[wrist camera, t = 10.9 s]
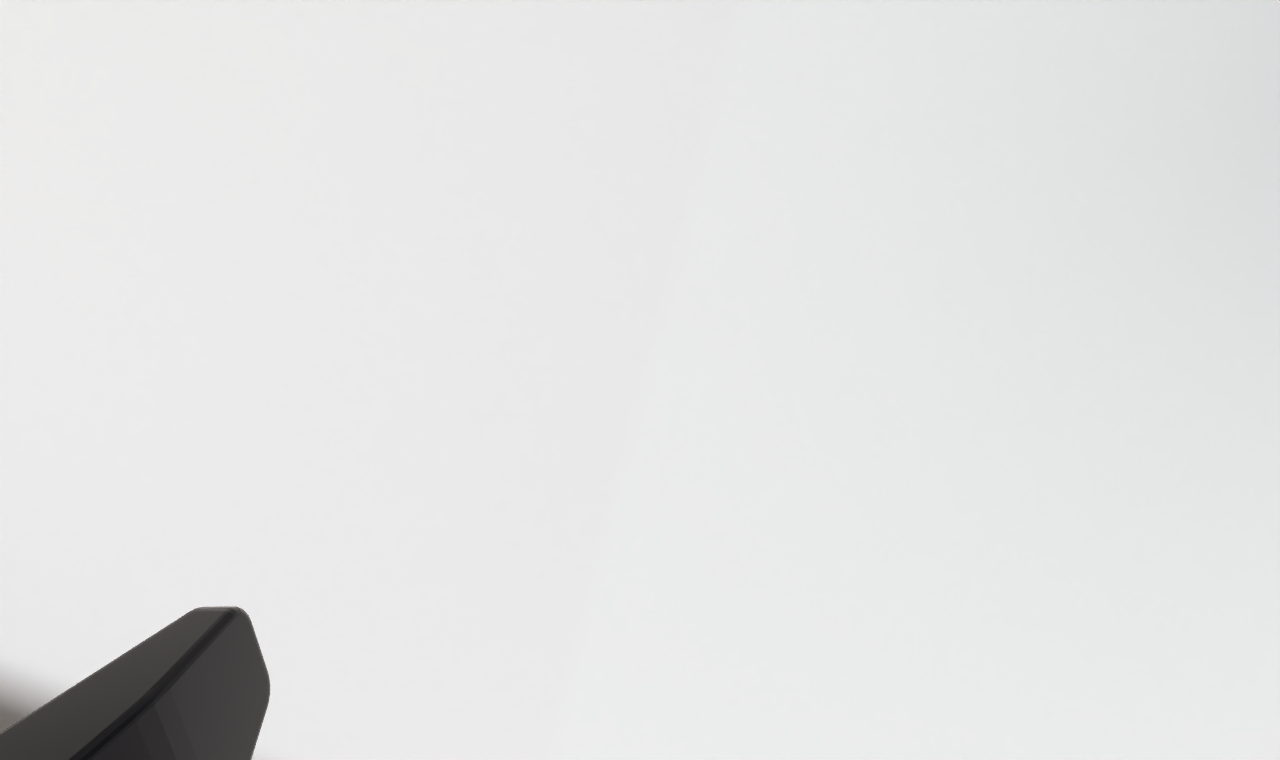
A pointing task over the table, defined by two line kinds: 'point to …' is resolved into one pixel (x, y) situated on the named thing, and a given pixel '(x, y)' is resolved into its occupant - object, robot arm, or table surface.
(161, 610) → the table surface
